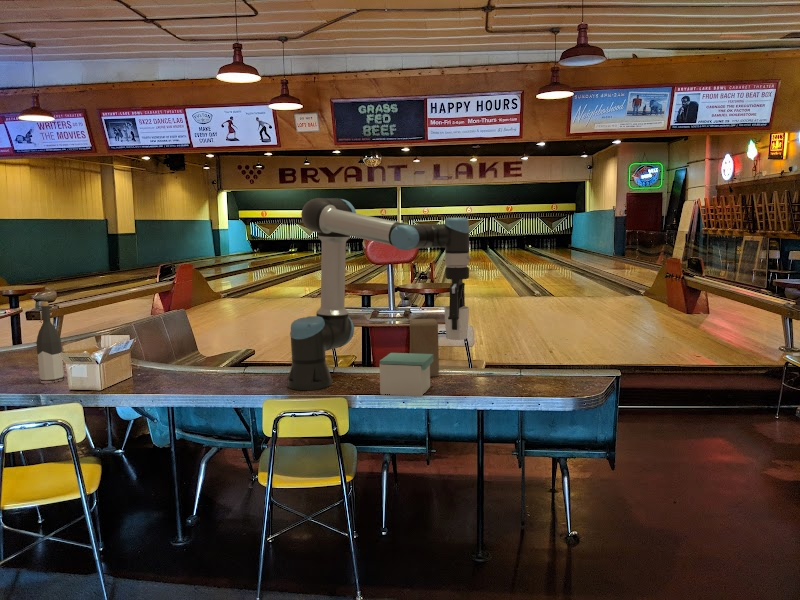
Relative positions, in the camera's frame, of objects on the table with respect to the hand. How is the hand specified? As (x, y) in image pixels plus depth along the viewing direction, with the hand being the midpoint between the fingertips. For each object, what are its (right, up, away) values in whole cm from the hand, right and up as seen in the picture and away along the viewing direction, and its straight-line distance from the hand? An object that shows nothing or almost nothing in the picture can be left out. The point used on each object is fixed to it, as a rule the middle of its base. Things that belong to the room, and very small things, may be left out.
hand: (457, 337), depth 204 cm
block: (-9, -16, +29) cm, 34 cm away
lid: (-16, -10, +6) cm, 20 cm away
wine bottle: (-149, -19, +33) cm, 153 cm away
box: (-17, -18, +7) cm, 26 cm away
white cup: (0, -1, 0) cm, 1 cm away
